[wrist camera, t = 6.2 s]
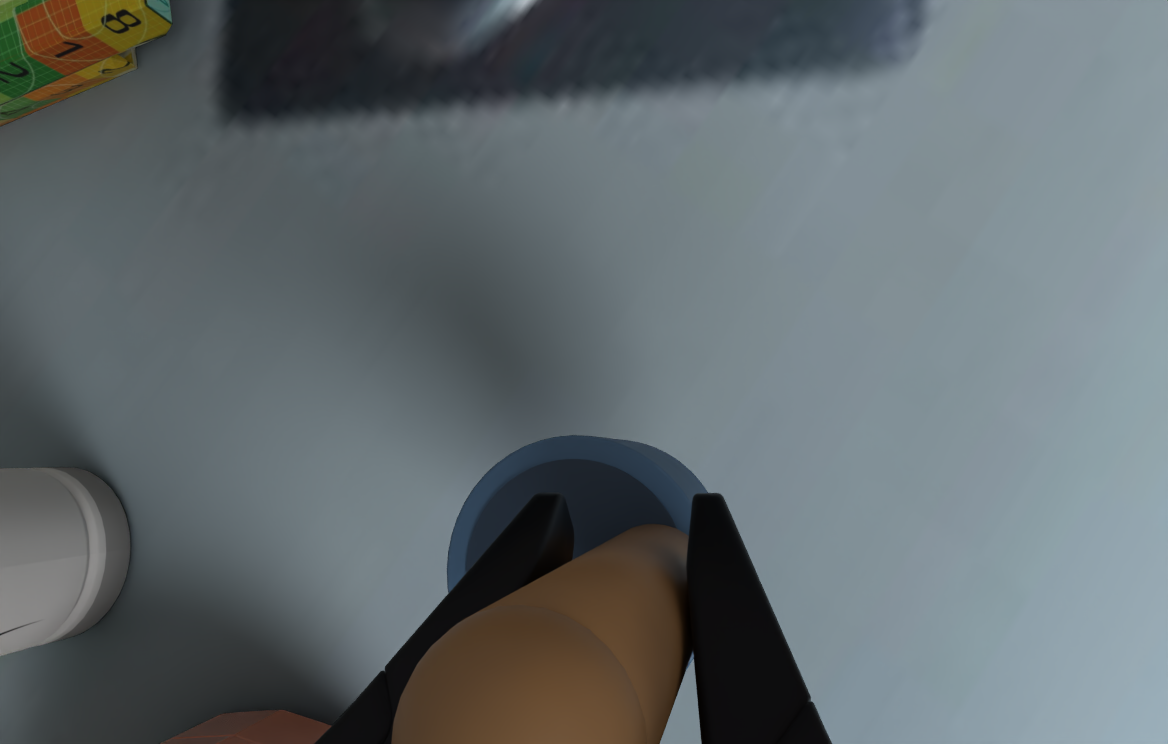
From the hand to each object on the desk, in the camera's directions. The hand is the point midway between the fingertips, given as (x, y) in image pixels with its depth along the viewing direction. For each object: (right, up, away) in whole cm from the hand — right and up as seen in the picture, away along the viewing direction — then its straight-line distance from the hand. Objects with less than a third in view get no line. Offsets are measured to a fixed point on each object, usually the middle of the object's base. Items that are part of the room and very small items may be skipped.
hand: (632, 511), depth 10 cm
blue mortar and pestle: (0, -2, +7) cm, 7 cm away
